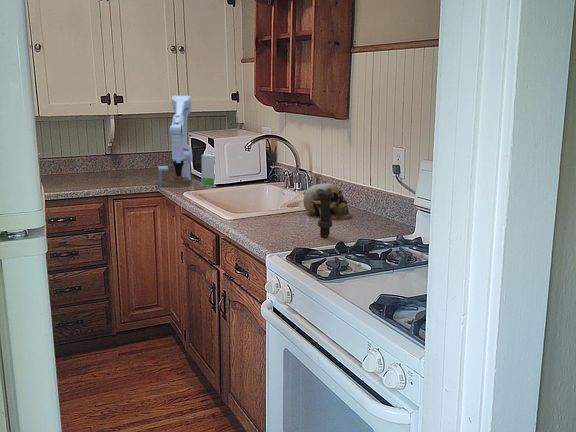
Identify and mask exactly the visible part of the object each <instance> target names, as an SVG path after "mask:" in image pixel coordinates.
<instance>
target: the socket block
mask: <svg viewBox="0 0 576 432" xmlns="http://www.w3.org/2000/svg"><path fill="white" fill-rule="evenodd" d="M163 187H170V188H171V187H190V180H189V178H188V177H182V179H177V180H176V176H175V177H162V188H163Z"/></svg>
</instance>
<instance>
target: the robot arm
mask: <svg viewBox="0 0 576 432" xmlns="http://www.w3.org/2000/svg"><path fill="white" fill-rule="evenodd" d="M192 103H193V100H192V96H191V95H174V94H173V95H172V97H171V106H172V110H173V112H174V113H175V114H174V115H172V120H171V125H170V126H169V136H170V140H171V156H172V157H171V160H172V161H171V162H172V164H173V167H174V173H175V177H176V176H181V173H182V177H188V178H189V181H191V180H192V176H191V165H190V164H191V163H192V162H193V149H192V147H191V146H190V145H189V144H188V116H189V114H190V113H191V112H192V110H193V107H192V105H193V104H192Z"/></svg>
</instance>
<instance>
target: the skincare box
mask: <svg viewBox="0 0 576 432" xmlns="http://www.w3.org/2000/svg"><path fill="white" fill-rule="evenodd" d="M211 154H212V153H206V154H201V187H208V188H217V187H216V185H215V184H214V181H215V174H214V165H215V160H214V159H215V156H214V155H211Z"/></svg>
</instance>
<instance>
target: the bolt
mask: <svg viewBox="0 0 576 432" xmlns="http://www.w3.org/2000/svg"><path fill="white" fill-rule="evenodd" d="M317 196H318V197H319V198H320V216H319V220H318V221H317V226H318V227H319V230H320V231H319V234H320V235H319V236H320V237H321V238H322V239H324V238H325V237H326V238H328V237H329V236H330V229H331V228H332V227H333V220H332V219H330V202H331V198H332V197H334V192H332V191H319V192H317Z"/></svg>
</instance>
